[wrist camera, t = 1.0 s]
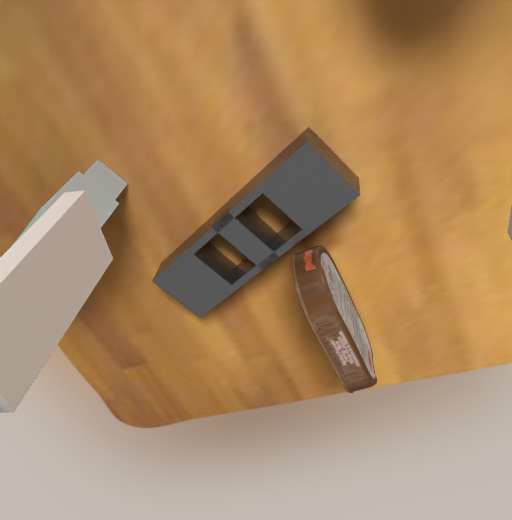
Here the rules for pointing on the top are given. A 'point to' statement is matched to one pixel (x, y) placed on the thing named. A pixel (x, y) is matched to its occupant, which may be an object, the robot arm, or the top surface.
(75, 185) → the pale blue upright block
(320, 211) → the board
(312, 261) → the tin
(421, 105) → the top surface
